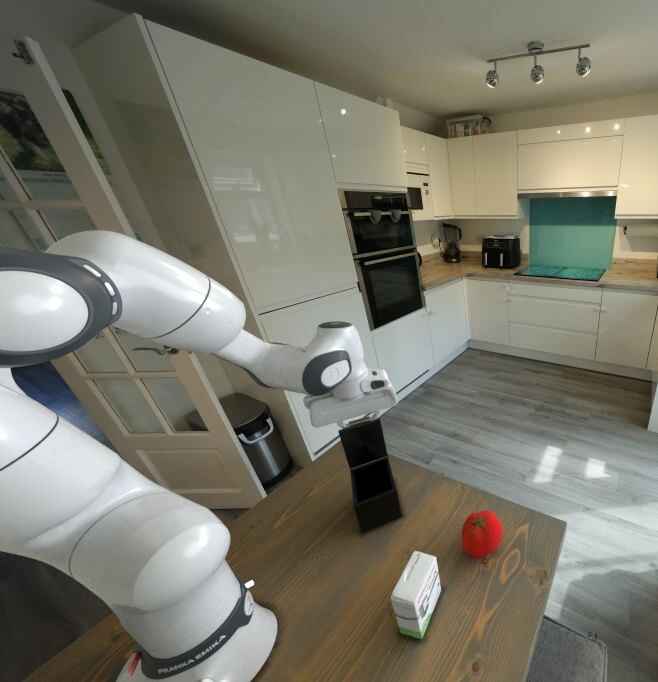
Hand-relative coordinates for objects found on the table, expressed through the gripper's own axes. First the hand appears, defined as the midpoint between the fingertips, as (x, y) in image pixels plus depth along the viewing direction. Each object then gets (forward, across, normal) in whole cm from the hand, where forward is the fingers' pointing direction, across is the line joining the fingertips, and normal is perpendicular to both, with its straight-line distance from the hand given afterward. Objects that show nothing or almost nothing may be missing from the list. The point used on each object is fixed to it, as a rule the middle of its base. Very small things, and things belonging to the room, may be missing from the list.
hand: (361, 427), depth 83 cm
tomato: (+20, +20, -32) cm, 43 cm away
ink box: (+20, +4, -38) cm, 43 cm away
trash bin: (+20, 0, -9) cm, 22 cm away
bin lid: (+3, 0, -4) cm, 5 cm away
